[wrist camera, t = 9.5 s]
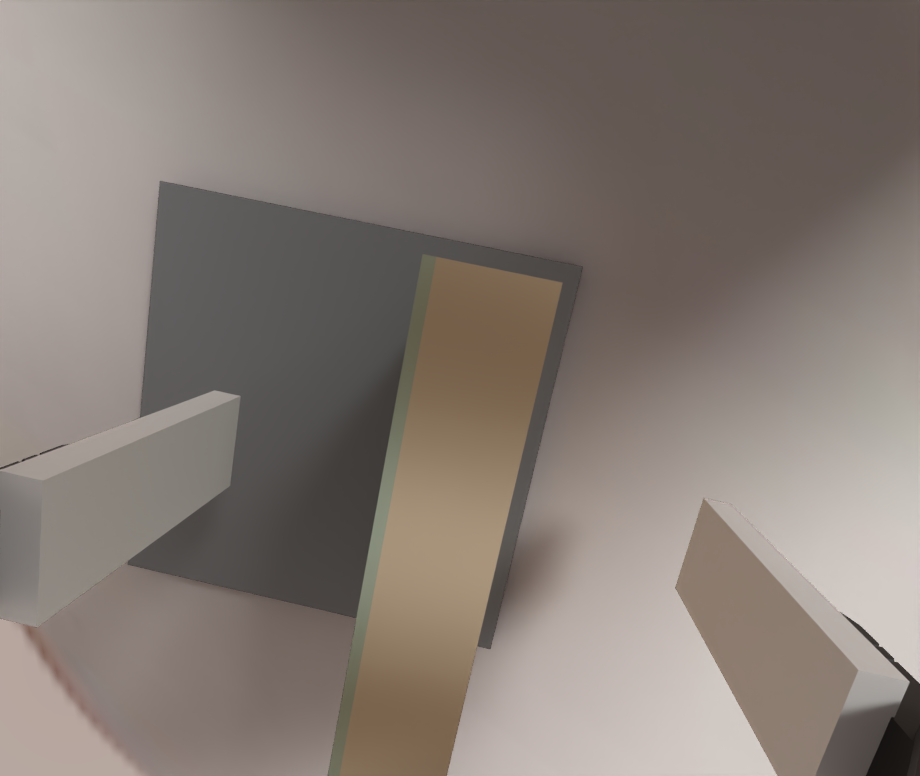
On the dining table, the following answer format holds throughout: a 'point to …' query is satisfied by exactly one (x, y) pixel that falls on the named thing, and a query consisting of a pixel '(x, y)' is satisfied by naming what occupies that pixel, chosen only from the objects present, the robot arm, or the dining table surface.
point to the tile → (441, 513)
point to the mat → (302, 385)
